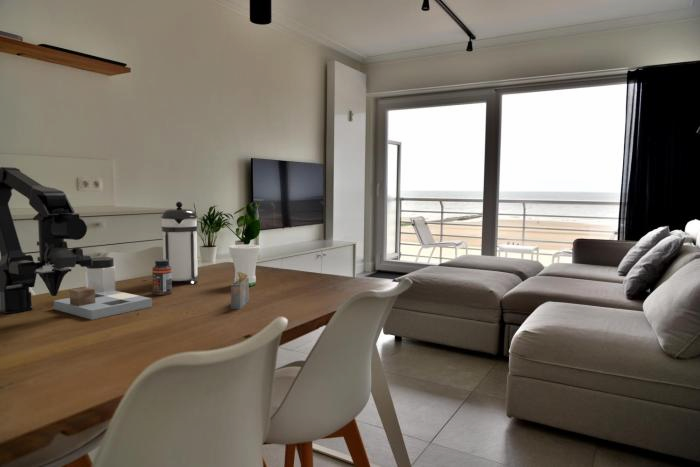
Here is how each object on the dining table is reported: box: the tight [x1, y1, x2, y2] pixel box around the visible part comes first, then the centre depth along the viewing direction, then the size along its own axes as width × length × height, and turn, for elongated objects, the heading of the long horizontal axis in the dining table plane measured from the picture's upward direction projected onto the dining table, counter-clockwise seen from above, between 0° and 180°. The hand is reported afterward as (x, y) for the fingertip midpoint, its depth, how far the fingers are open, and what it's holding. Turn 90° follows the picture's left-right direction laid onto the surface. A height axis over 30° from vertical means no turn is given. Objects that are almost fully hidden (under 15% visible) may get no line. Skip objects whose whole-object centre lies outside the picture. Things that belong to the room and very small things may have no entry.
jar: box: [84, 256, 116, 293], centre depth 160 cm, size 9×8×12 cm
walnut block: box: [69, 286, 95, 306], centre depth 138 cm, size 5×5×4 cm
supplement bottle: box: [151, 258, 173, 296], centre depth 163 cm, size 6×6×11 cm
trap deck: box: [53, 290, 153, 321], centre depth 144 cm, size 18×20×2 cm
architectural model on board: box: [230, 272, 250, 310], centre depth 149 cm, size 11×3×10 cm, turn 179°
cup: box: [228, 244, 261, 287], centre depth 180 cm, size 11×11×14 cm
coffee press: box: [160, 201, 198, 285], centre depth 184 cm, size 17×16×30 cm
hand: (54, 295), depth 132 cm, fingers closed
